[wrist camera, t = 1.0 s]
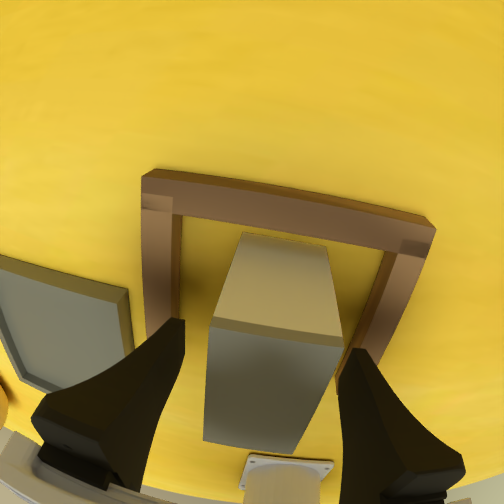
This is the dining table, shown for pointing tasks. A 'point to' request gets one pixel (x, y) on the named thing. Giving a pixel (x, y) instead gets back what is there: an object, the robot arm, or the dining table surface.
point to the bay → (285, 220)
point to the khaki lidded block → (271, 345)
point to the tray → (60, 325)
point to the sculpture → (3, 407)
